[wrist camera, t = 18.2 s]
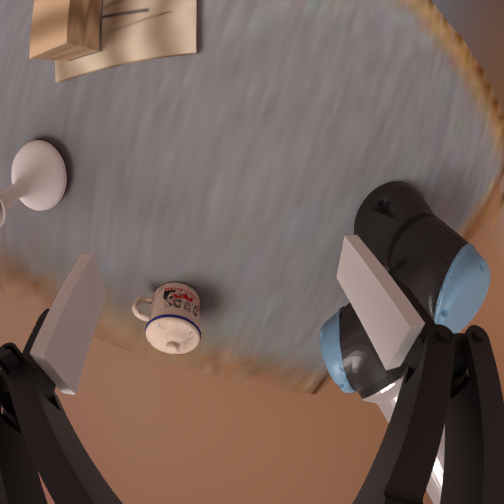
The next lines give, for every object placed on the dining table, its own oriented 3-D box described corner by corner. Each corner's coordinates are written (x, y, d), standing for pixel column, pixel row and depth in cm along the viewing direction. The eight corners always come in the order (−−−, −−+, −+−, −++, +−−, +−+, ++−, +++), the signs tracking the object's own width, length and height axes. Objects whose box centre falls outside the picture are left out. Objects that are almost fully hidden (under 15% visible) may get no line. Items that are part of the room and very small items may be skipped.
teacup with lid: (209, 291, 49) (211, 342, 39) (189, 322, 53) (187, 371, 43) (146, 266, 45) (133, 315, 35) (131, 301, 48) (119, 350, 39)
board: (198, -30, 21) (197, -34, 20) (196, 53, 28) (195, 52, 27) (63, 2, 19) (58, 0, 17) (60, 82, 26) (55, 82, 25)
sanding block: (71, 7, 19) (35, -8, 11) (103, -4, 20) (73, -25, 11) (69, 61, 24) (29, 58, 16) (101, 51, 24) (66, 43, 16)
